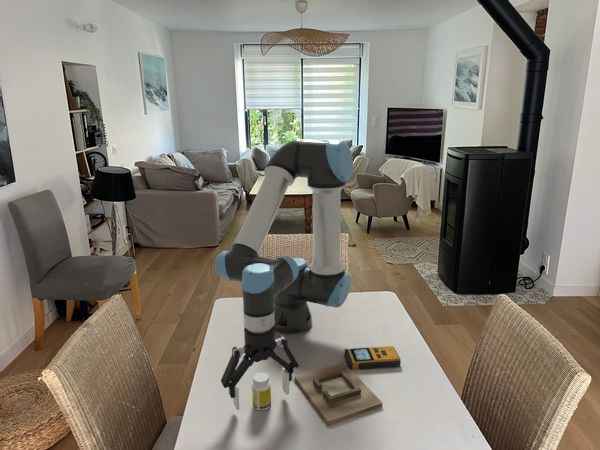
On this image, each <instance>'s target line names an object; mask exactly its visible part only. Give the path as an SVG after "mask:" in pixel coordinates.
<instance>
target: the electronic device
mask: <svg viewBox="0 0 600 450" xmlns="http://www.w3.org/2000/svg"><path fill="white" fill-rule="evenodd" d="M343 352H344V353H343V354H344V355H343V357H344V359H345V362H346V365H347V366H348V367H349V368H350V369H351V370H352V371H356V370H360V371H361V370H362V371H363V370H373V369H374V370H375V369H378V370H379V369H390V368H392V369H393V368H400V366H401V364H402V363H401V358H400V355H399V354H398V352H397V350H396V348H395V347H394V346H390V345H389V346H388V345H387V346H375V347H355V348H345V349H344V351H343Z"/></svg>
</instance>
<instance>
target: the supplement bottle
mask: <svg viewBox="0 0 600 450" xmlns="http://www.w3.org/2000/svg"><path fill="white" fill-rule="evenodd" d="M269 377H270V376H269V374H267V373H266V372H257V373H255V374H254V375H253V377H252V379H253V380H252V384H251V393H252V394H251V395H252V406H253V408H254V409H256V411H257V410H258V411H266V410H268V409H269V408H270V407H271V405H272V394H271V393H272V392H271V391H272V389H271V387H272V386H271V382H270V378H269Z"/></svg>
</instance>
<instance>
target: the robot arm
mask: <svg viewBox="0 0 600 450" xmlns="http://www.w3.org/2000/svg"><path fill="white" fill-rule="evenodd" d="M352 154H353V153H352V150H351V148H350V147H349V144H347V143H346V142H344V141H341V140H335V139H321V138H320V139H319V138H318V139H316V138H314V139H312V138H308V139H307V138H295V139H293V140H290V141H288V142H286V143H285V144H283V145H282V146H281V147H280V148H279V149H277V151H276V152H275V153H274V154H273V155H272V157H270V159H269V161H268V162H267V164H266V166H265V168H264V171H263V174H264V178H263V180H262V182H261V185H260V187H259V189H258V191H257V193H256V196H255V197H254V199H253V202H252V204H251V206H250V209H249V210H248V212H247V215H246V217H245V219H244V220H243V223H242V225H241V227H240V230H239V232H238V234H237V236H236V238H235V240H234V243H233V245H232V246H231V249H230V250H223V251H220V253H219V254H218V255H217V257H216V258H215V263H214V264H215V265H214V269H215V273H216V274H217V275H218V277H221V278H223V279H226V280H229V281H232V282H233V281H235V282H239V283H241V289H242V301H243V302H242V304H243V308H242V309H243V326H244V328H243V331H244V332H243V333H244V346H243V347H239V348H238V347H236V346H232V350H231V355H230V358H229V361H228V364H227V365H226V367H225V370H224V372H223V374H222V377H221V379H220V382H221V385H222V386H223V388H224V389H227V388H228V394H229V396H230V398H231V399H232V401H233V405H234V408H235V409H236V411H238V410H240V396H239V395H240V393H239V389H240V388H239V386H238V384H239V382H240V381H241V379H242V377H243V376H244V375H245V373H246V372H247V371H248V370H249V368H250V367H252V366H253V364H255V363H259V362H261V361H267V360H268V359H269V358H271V359H272V360H273V361H275V362H276V363H278V365H280V366H282V368H281V372H282V373H281V375H282V376H281V381H282V390H283V393H284V394H285V395H286V396H288V395H289V394H290V382H291V381H293V373H294V372H295V370H294V369H297V368H299V366H300V365H299V363H298V362H297V359H296V358H295V356H294V355H293V353H292V351H291V349H290V348H289V346H288V340H287V339H286V338H285V337H284V335H283V334H297V333H302V332H304V331H307V330H308V329H309V328H310V327H311V326H312V325H313V324H312V323H313V321H312V320H313V317H312V313H311V310H310V307H309V304H308V303H312V304H317V305H322V306H326V307H328V308H329V307H332V308H340V307H341V306H343V305H344V303H345V301H346V300H347V298H348V295H349V292H350V289H351V284H352V277H351V276H352V275H351V274H350V273H348V272H345V271H346V267H345V264H344V263H343V262H342V261H341V205H342V204H341V196H342V195H341V192H342V191H341V190H343V189H344V188H345V187H346V182H348V181H350V179H351V178H352V176H353V170H354V161H353V160H354V159H353V158H354V157H353V155H352ZM297 178H306V179H307V187H308V188H309V189H311V191H312V235H313V236H312V237H313V238H312V239H313V241H312V243H313V244H312V245H313V246H312V247H313V248H312V249H313V261H312V262H311V263H309V265H308V261H307V260H306V259H305V258H300V257H291V256H288V255H283V256H279V257H277V258H275V259H273V258H266V257H262V256H259V255H260V252H261V249H262V248H263V244H264V242H265V241H266V238H267V236H268V233H269V231H270V229H271V226H272V224H273V223H274V220H275V217H276V215H277V213H278V210H279V208H280V206H281V205H282V201H283V199H284V197H285V194H286V193H287V190H288V188H289V187H291V186H293V184H294V182H295V180H296V179H297ZM276 332H279V333H282V335H279V337H278V338H276ZM277 345H278V347H280V348H281V349H282V350H283V352H284V353H285V355H286V356H287V358H288V360H289V361H290V362H288V361H286V360H285V359H284V358H283V357H281V355H279V354H278V353H277V352H276V351H275V349H276V347H277ZM243 354H244V355H243ZM242 356H243V357H242ZM241 358H242V360H241V361H240V359H241ZM239 362H240V363H239Z"/></svg>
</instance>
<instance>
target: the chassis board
mask: <svg viewBox="0 0 600 450" xmlns="http://www.w3.org/2000/svg"><path fill="white" fill-rule="evenodd" d="M353 371H354V370H351V369H350V368H349V367H348V365H347V363H345V361H341V362H339V363H335V364H330V365H327V366H324V367H321V368H316V369H315V370H314V369H313V370H310V371H306V372H304V373H300V374H296V375H294V378H293V380H294V381H295V382H296V384H297V385H298V386H299V388H300V390H302V392H303V393H304V395H305V396H306V398H307V399H308V401H309V402H310V403H311V405H312V406H313V407H314V408H315V411H317V412H318V414H319V415H320V417H321V418H322V419H323V421H324V422H325V423H326V425H327V426H331V425H333V424H334V425H335V424H336V423H337V424H338V423H339V422H342V421H346V420H348V419H352V418H355V417H356V416H360V415H362V414H365V413H368V412H369V413H370V412H372V411H374V410H377V409H380V408H383V402H382V401H381V400H380V398H379V397H378V396H376V394H375V393H374V392H372V390H371V389H370V388H369V387H368V386H367V385H366V384H365V383H364V382H363V381H362V379H361V378H359V376H358V375H356V373H355V372H353Z"/></svg>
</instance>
